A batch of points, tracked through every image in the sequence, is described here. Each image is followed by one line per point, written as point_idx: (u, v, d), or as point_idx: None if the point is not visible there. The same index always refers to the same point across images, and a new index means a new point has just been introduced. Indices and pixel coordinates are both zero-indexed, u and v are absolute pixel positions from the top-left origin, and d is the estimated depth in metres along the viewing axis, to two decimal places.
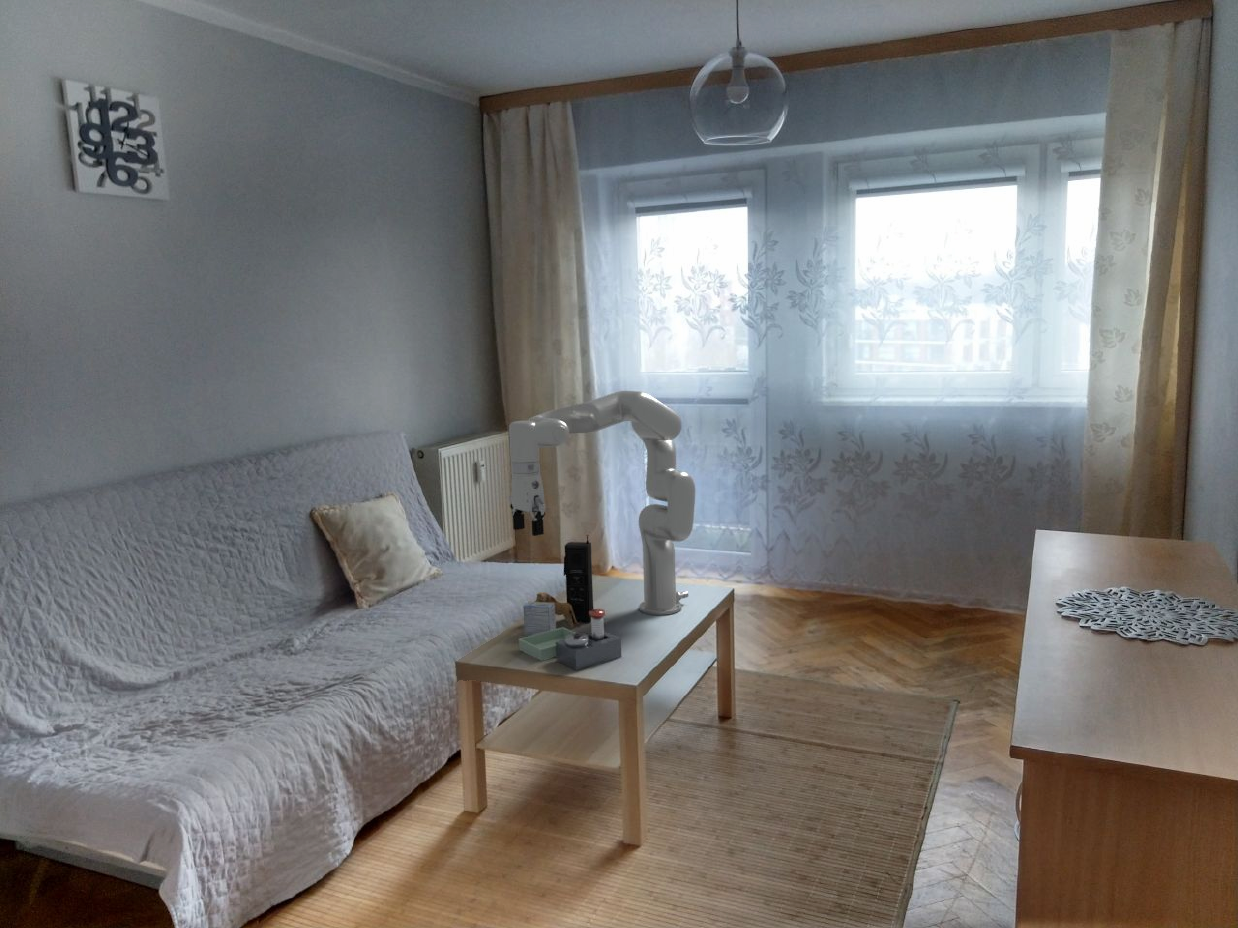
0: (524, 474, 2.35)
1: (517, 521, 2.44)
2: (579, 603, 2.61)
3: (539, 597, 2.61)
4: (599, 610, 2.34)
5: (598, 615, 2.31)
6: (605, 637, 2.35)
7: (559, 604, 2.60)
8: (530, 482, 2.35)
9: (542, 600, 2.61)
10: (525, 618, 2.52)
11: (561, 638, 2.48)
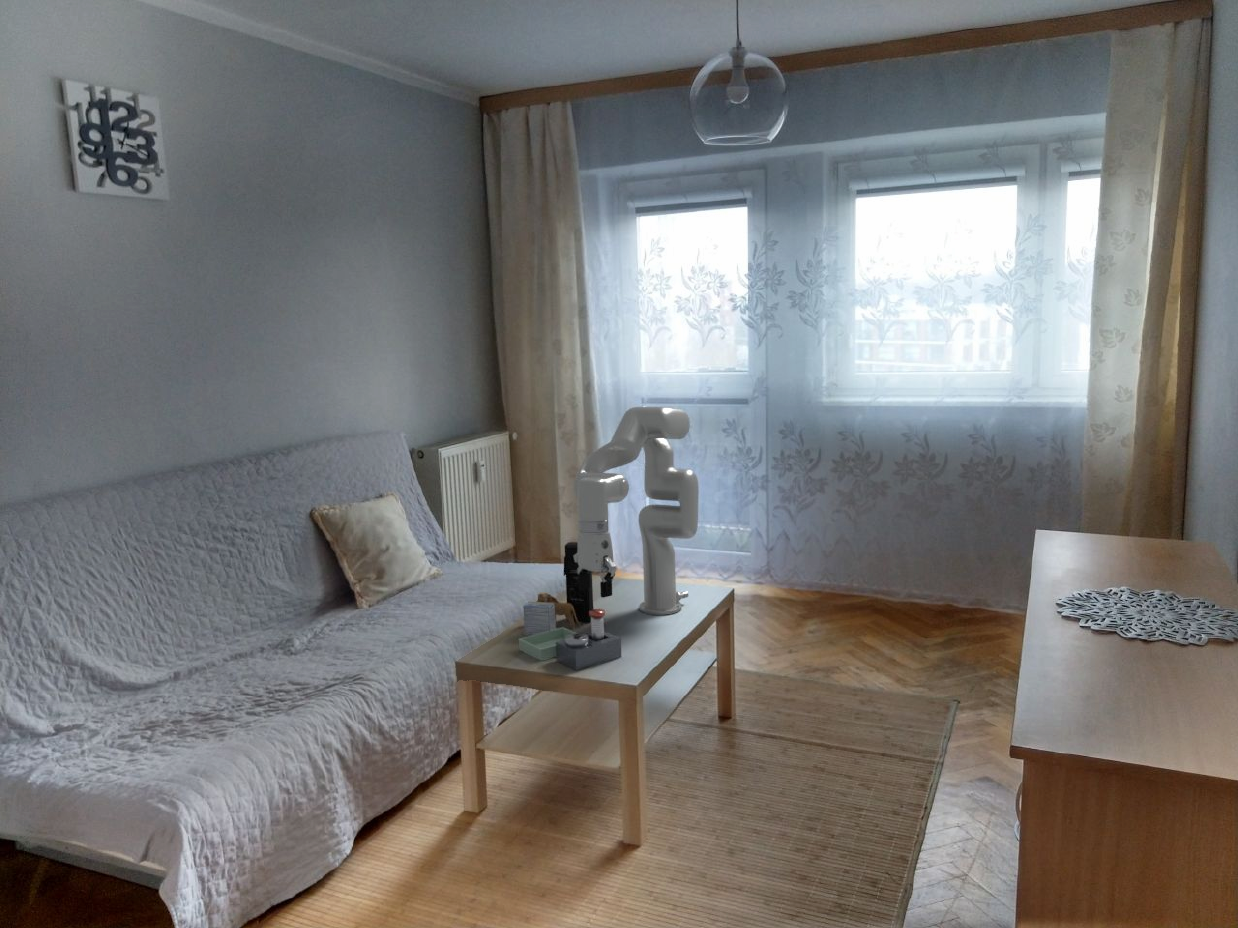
0: (593, 533, 2.26)
1: (583, 580, 2.35)
2: (579, 603, 2.61)
3: (540, 597, 2.61)
4: (599, 610, 2.34)
5: (598, 615, 2.31)
6: (605, 637, 2.35)
7: (560, 604, 2.59)
8: (600, 542, 2.26)
9: (543, 600, 2.61)
10: (525, 618, 2.52)
11: (561, 638, 2.48)
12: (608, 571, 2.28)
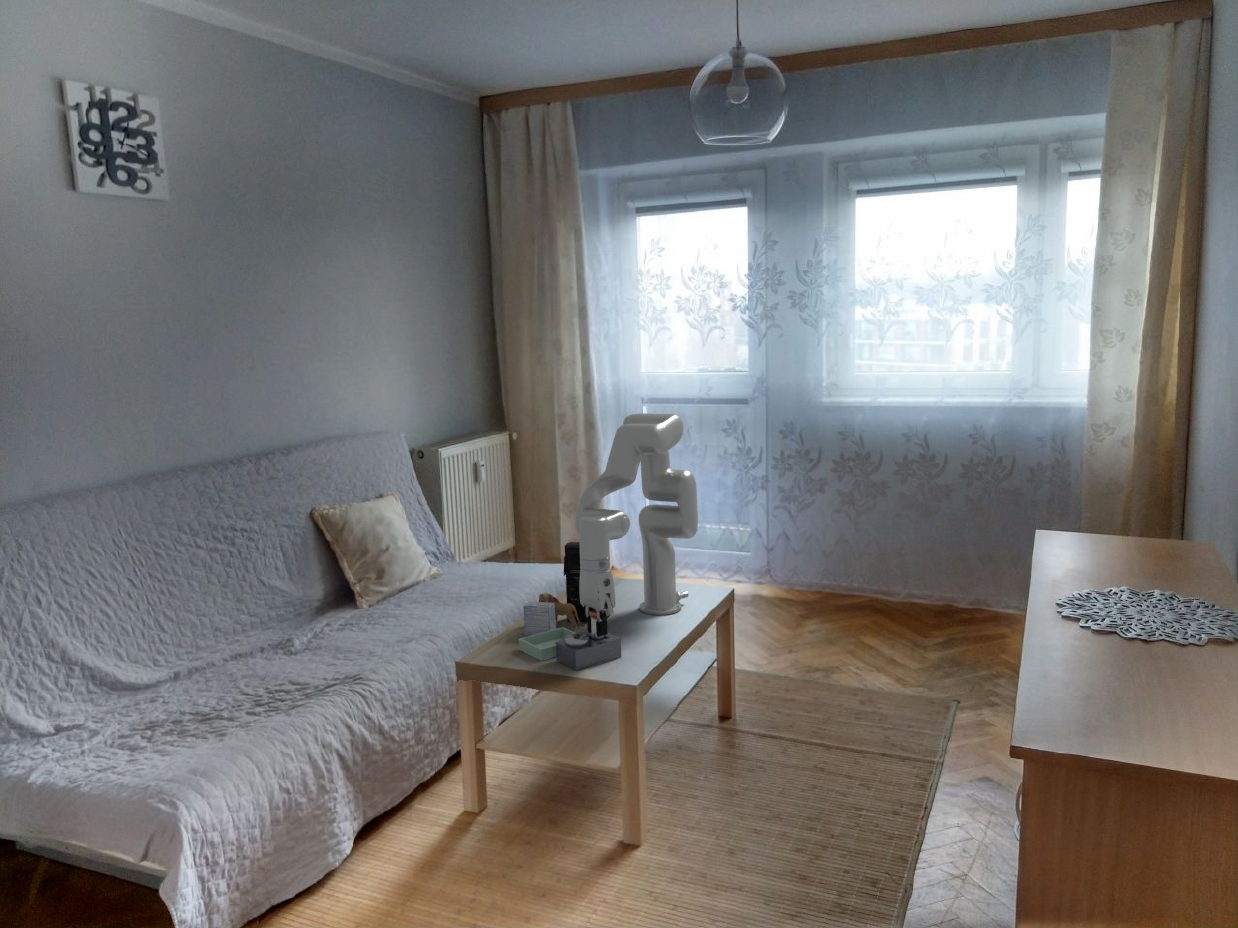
0: (595, 571, 2.28)
1: None
2: (579, 603, 2.61)
3: (542, 598, 2.61)
4: None
5: None
6: (605, 637, 2.35)
7: (562, 605, 2.59)
8: (601, 580, 2.27)
9: (545, 601, 2.60)
10: (525, 618, 2.52)
11: (561, 638, 2.48)
12: (606, 611, 2.31)
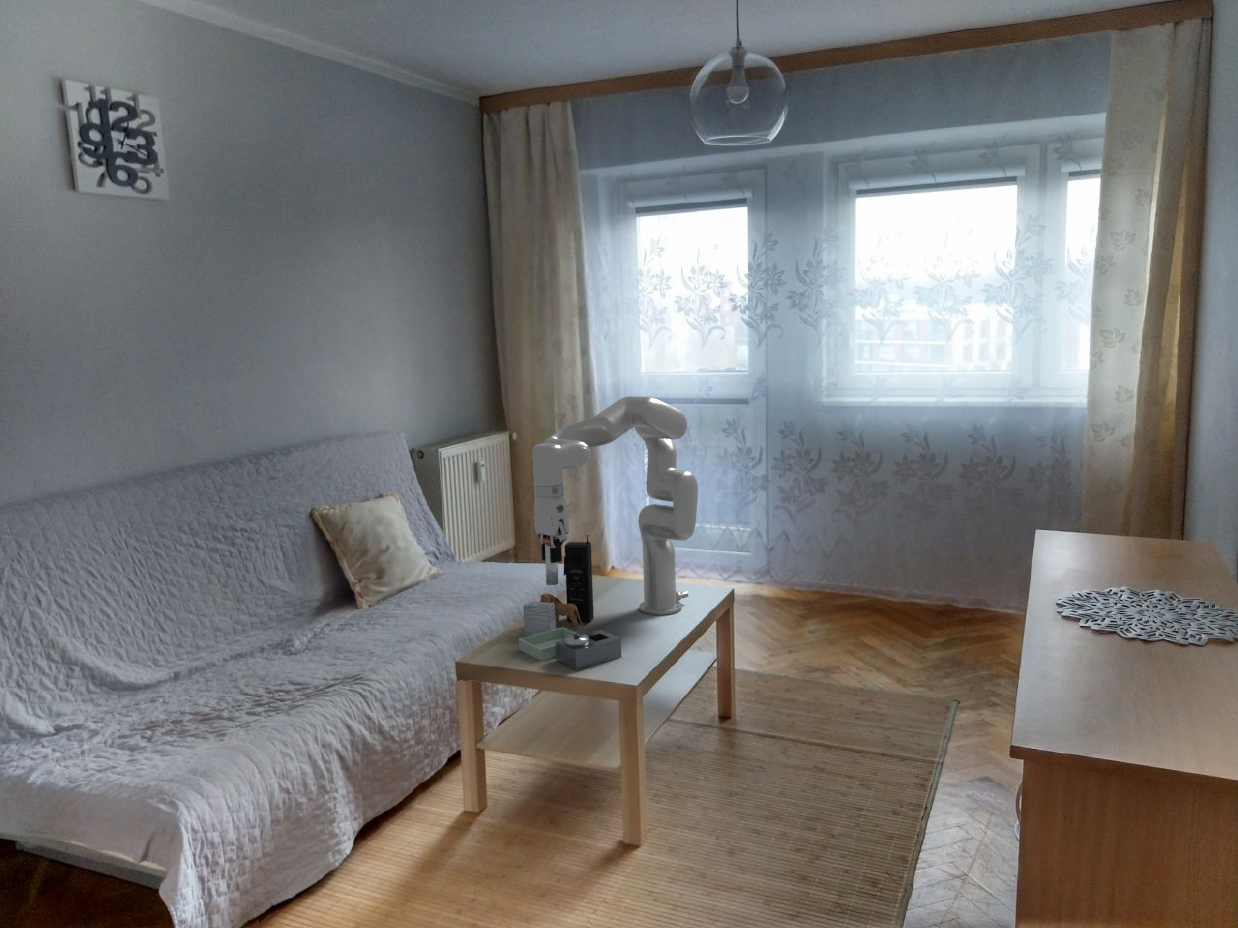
0: (548, 498, 2.31)
1: None
2: (579, 603, 2.61)
3: (543, 598, 2.60)
4: None
5: None
6: (605, 637, 2.35)
7: (564, 605, 2.59)
8: (554, 506, 2.31)
9: (546, 601, 2.60)
10: (525, 618, 2.52)
11: (561, 638, 2.48)
12: None
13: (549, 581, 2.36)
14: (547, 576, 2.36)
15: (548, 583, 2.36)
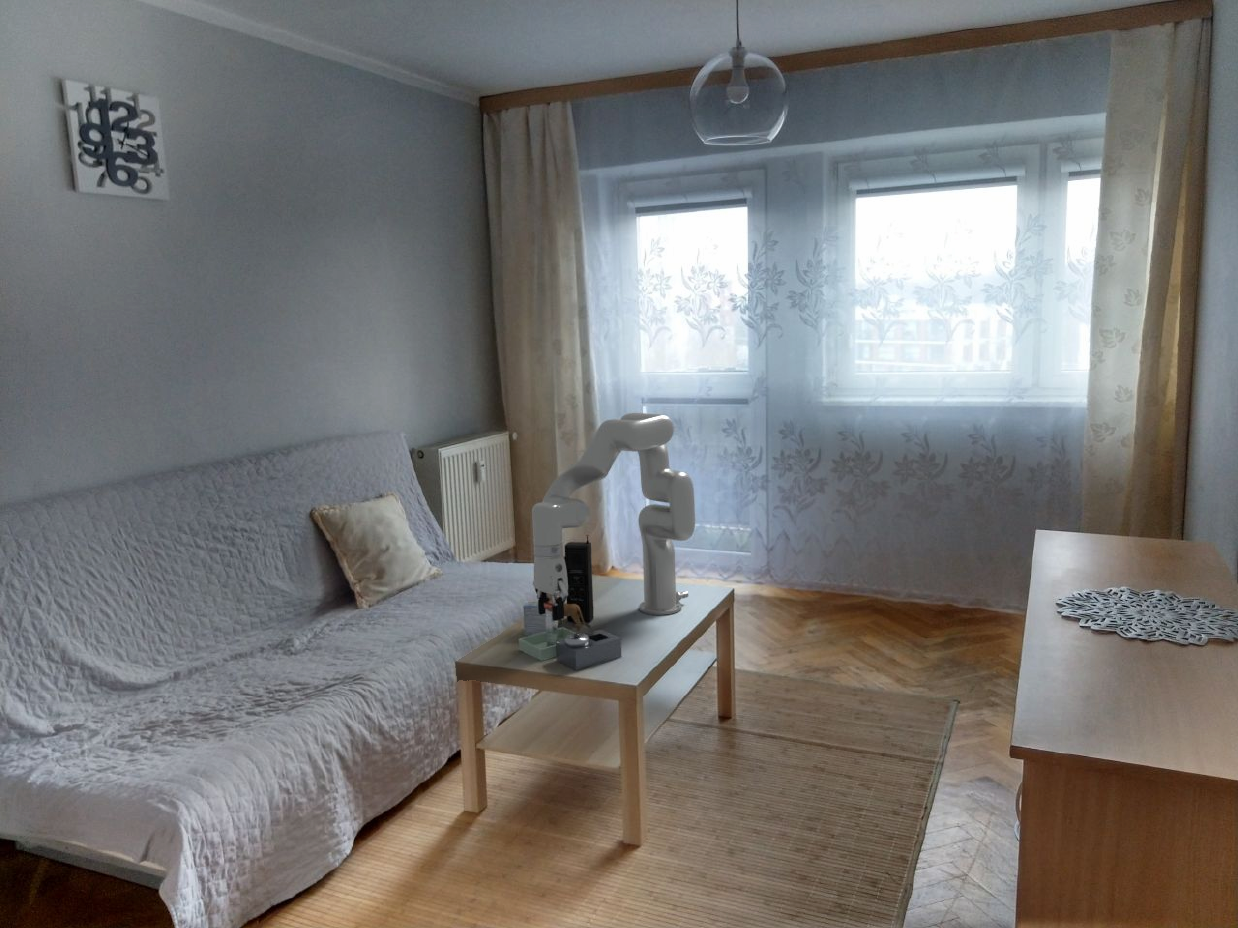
0: (547, 557, 2.34)
1: (542, 606, 2.42)
2: (579, 603, 2.61)
3: None
4: None
5: None
6: (605, 637, 2.35)
7: (567, 605, 2.58)
8: (553, 565, 2.33)
9: None
10: (525, 618, 2.52)
11: (561, 638, 2.48)
12: (561, 595, 2.36)
13: (549, 645, 2.40)
14: (547, 640, 2.40)
15: None
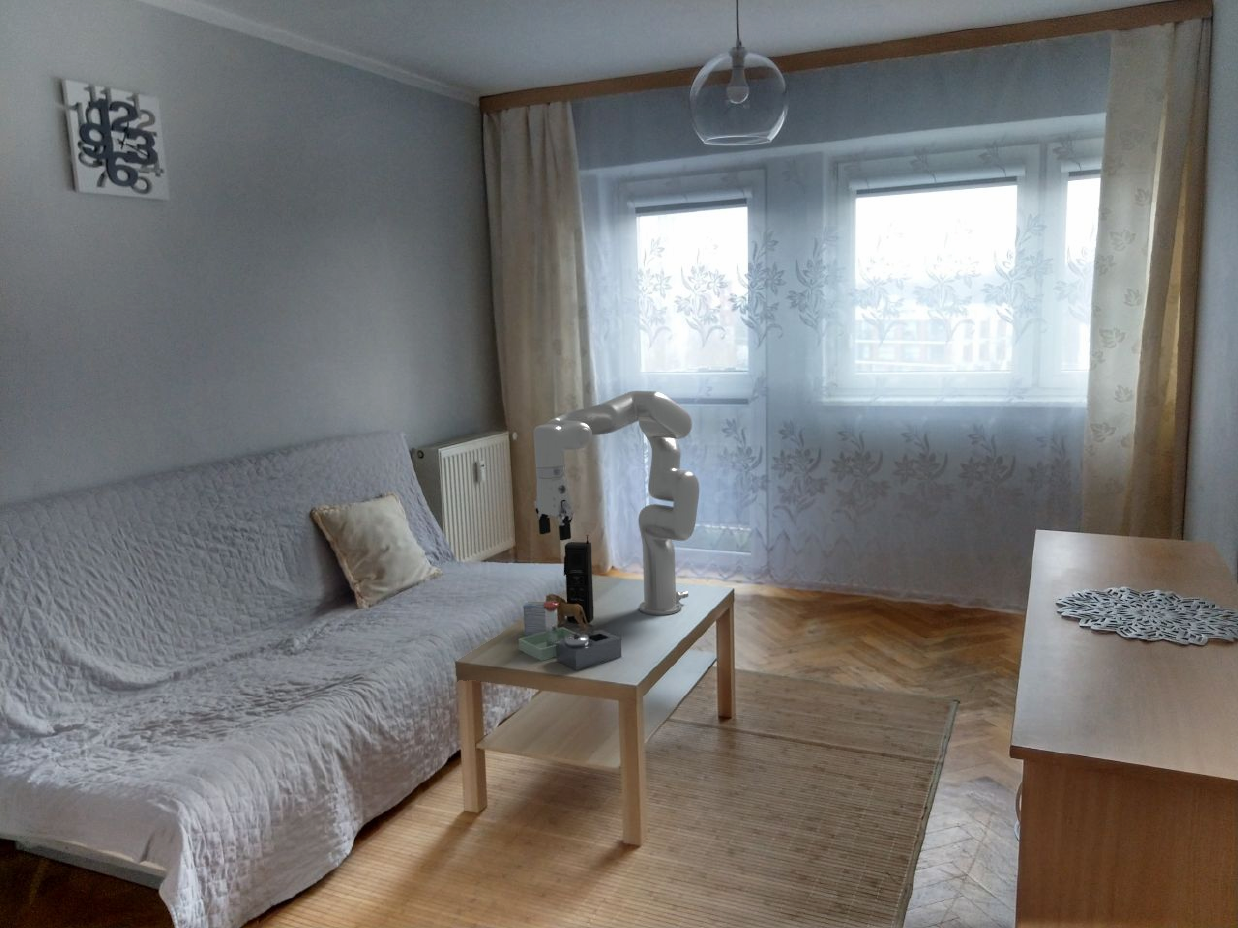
0: (550, 479, 2.33)
1: (543, 525, 2.42)
2: (579, 603, 2.61)
3: (549, 599, 2.60)
4: (553, 602, 2.40)
5: (552, 607, 2.38)
6: (605, 637, 2.35)
7: (569, 605, 2.58)
8: (556, 487, 2.33)
9: None
10: (525, 618, 2.52)
11: (561, 638, 2.48)
12: None
13: (549, 645, 2.40)
14: (547, 640, 2.40)
15: None
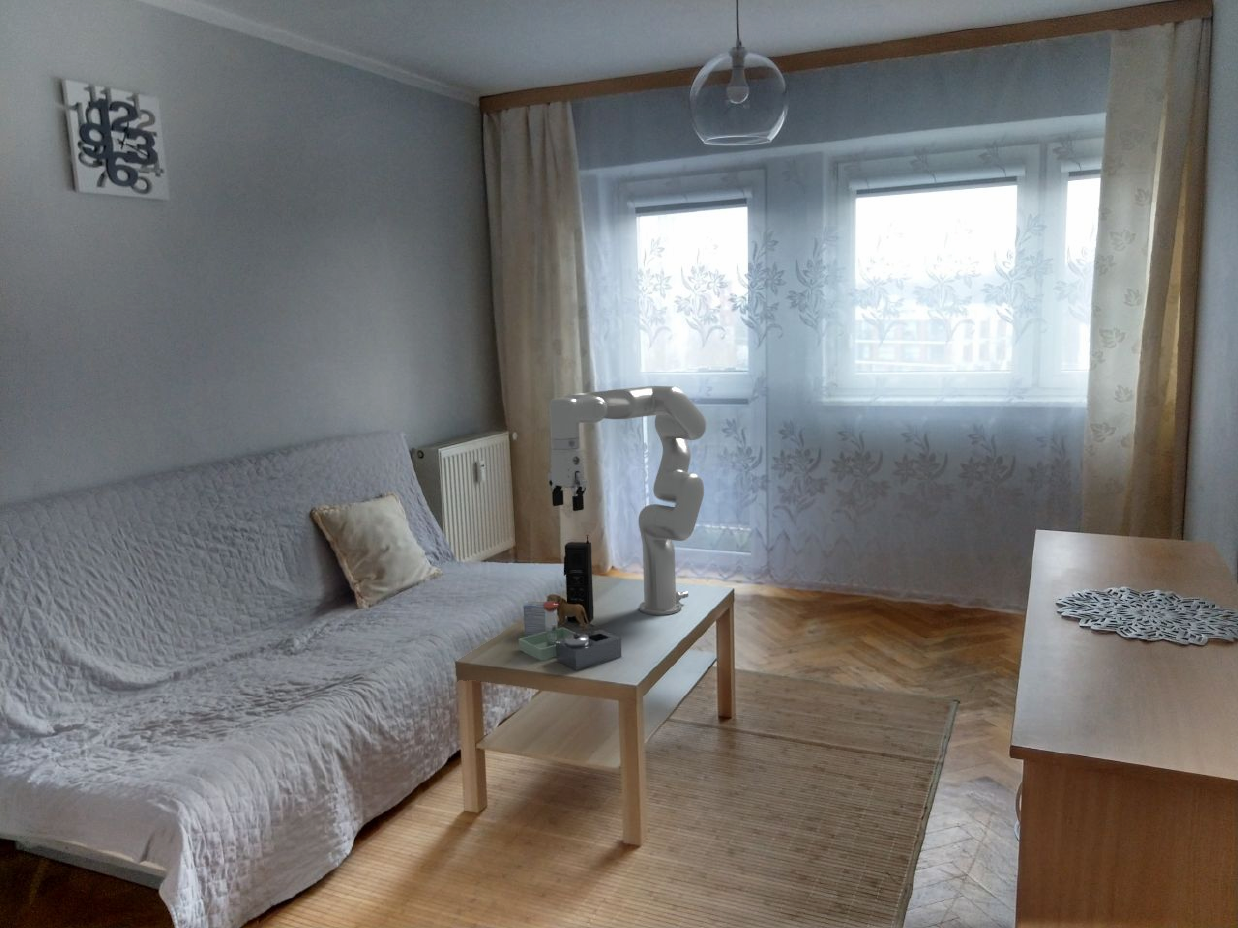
0: (565, 450, 2.38)
1: (556, 497, 2.47)
2: (579, 603, 2.61)
3: (550, 599, 2.59)
4: (553, 602, 2.40)
5: (552, 607, 2.37)
6: (605, 637, 2.35)
7: (571, 606, 2.58)
8: (571, 458, 2.38)
9: None
10: (525, 618, 2.52)
11: (561, 638, 2.48)
12: (579, 486, 2.40)
13: (549, 645, 2.39)
14: (547, 640, 2.40)
15: None
